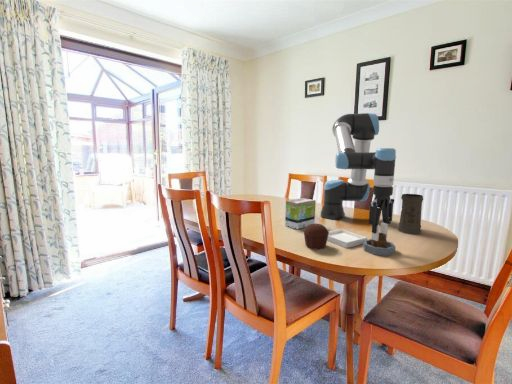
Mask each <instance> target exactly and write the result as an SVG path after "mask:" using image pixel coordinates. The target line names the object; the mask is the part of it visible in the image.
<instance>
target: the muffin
mask: <svg viewBox="0 0 512 384" xmlns="http://www.w3.org/2000/svg"><path fill="white" fill-rule="evenodd" d="M302 232H303V234H304V235H303V236H304V243H305V246H306V247H307V248H308V249H311V250H323V249H325V248H326V246H327V242H328V241H327V238H328V234H329V230H328V229H327V227H325V225H323V224H322V223H314V224H310V225H308V226H307V227H304V229H303V230H302Z"/></svg>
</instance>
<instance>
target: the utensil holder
mask: <svg viewBox="0 0 512 384" xmlns="http://www.w3.org/2000/svg"><path fill="white" fill-rule="evenodd" d="M382 227H383V226H382ZM382 227H381V226H380V230H379V239H378V241H375V240H372V243H371V246H374V247H379V248H386V244H387V241H388V240H387V239H386V234H384V233H381V230H382V229H381V228H382ZM384 227H385V226H384ZM384 227H383V228H384ZM385 228H386V227H385Z"/></svg>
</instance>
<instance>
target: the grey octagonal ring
mask: <svg viewBox="0 0 512 384" xmlns="http://www.w3.org/2000/svg"><path fill="white" fill-rule="evenodd" d="M371 243H372V238H367V240H364V242H363V244H362V248H363V250H364V252H366V253H369V254H371V255H374V256H383V257H389V256H392V255H395V254H396V245H395V244H394V242H391V241H388V240H387V244H386V248H379V247H374V246H371Z"/></svg>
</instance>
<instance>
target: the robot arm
mask: <svg viewBox="0 0 512 384" xmlns="http://www.w3.org/2000/svg"><path fill="white" fill-rule="evenodd" d="M379 132H380V121H379V117H378V115H377V114H376V113H369V112H363V113H345V114H343V115H342V116H340V117H338V118H337V119H336V120H335V121H334V123H333V125H332V134H333V136H334V138H335V140H336V145H337V150H338V151H337V153H336V154H335V159H334V160H335V161H334V162H335V167H336V168H337V169H338V170H340V169H341V170H351V171H350V177H349V178H348V179H347V182H345V181H344V180H343V179H334V180H333V179H332V180H327V181H326V182H324V188H323V192H324V193H323V194H324V195H323V205H322V208H321V210H320V217H321V218H324V219H329V220H341V219H345V218H346V213H345V210H344V206H343V202H365V201H366V200H367V199H368V198H369V196H370V189H371V185H370V183H369V182H368V180H367V170H374V174H373V187H372V189H373V190H372V195H374V199H373V200H372V201H371V200H370V201H369V202H368V204H369V211H368V213H369V215H368V224H369V225H371V239H372V240H375V241H378V239H379V233H380V231H381V233H384V234H386V240H387V238H388V229H389V225H390V224H391V223H392V222H393V213H394V211H393V209H394V202H395V199H394V198H391V196H393V193H394V187H393V185H394V182H395V179H394V177H395V170H396V169H395V167H396V158H397V154H396V153H397V152H396V149H395V148H393V147H392V148H391V147H389V148H388V147H387V148H386V147H384V148H383V147H380V148H376V150H375V151H374V152H373V151H372V152H371V150H370V149H371V143H372V141H373V140H374V139H375V136H377V135H379ZM353 140H354V142H353ZM381 217H382V219H381V220H382V222H381V223H379V222H380V218H381ZM379 224H380V225H379ZM382 226H383V227H384V226H385V227H386V228H385V227H384V228H383V227H382ZM381 227H382V228H381ZM381 229H382V230H381Z"/></svg>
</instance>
